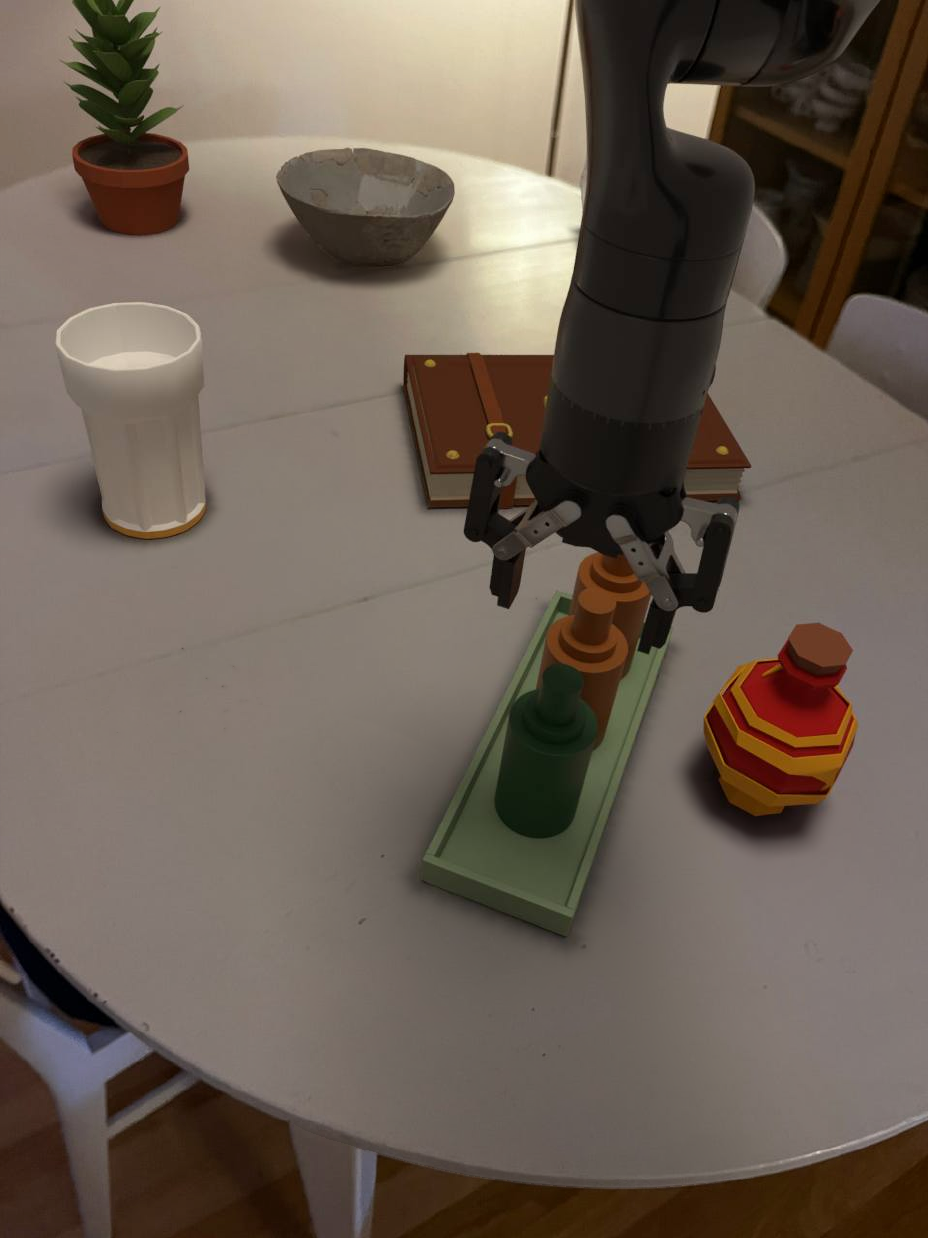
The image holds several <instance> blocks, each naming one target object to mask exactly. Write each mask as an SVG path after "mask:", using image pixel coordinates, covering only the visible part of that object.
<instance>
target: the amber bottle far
mask: <svg viewBox="0 0 928 1238" xmlns="http://www.w3.org/2000/svg"><path fill="white" fill-rule="evenodd" d="M574 582H575V583H574V587H573V592H572V595H573V596H572V601H571V606H570V610H569V615H568V616H570V615H574V614H575V609H576V605H577V600H578V596H579V594H580V593H581V592H582V591H583V590H585V589H588V588H600V589H603V590H606V591H608V592H609V593H611V594H612V595H613V596H614V598H615V600H616V608H615V612H614V616H613V620H612V624H613V625H614V626H616V627H617V628H618V629H619V630H620V631H621V632H622V633H623V635H624V636H625V638H626V640H627V644H628V654H627V658H626V661H625V665H624V668H623V672H622V676H621V679H622V678H624V677H625V676H626V675H627V674H628V672H629V670H630V668H631V664H632V661H633V657H634V654H635V650H636V647H637V643H638V640H639V636H640V633H641V629H642V626H643V622H644V619H645V618H646V616H647V613H648V609H649V606H650V602H651V601H650V600H651V597H652V595H651V593H650V591H649V589H648V588H647V586H646V584H645V582H644V581H639V580H638V579H637V577H636V575H635V573H634V571H633V570H632V568H631V566H630V564H629V562H628V560H627V559H626V557H625V555H618V557H617V559H616V558H612V557H609V556H606V555H603V554H601V553H599V552H597V551H596V552H593V553H592V554H589V555H588V556H585V558H583V559H582V561H581V562H580V563H579V566H578V569H577V573H576V578H575V581H574ZM621 679H620V680H621Z"/></svg>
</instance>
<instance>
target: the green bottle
mask: <svg viewBox="0 0 928 1238" xmlns="http://www.w3.org/2000/svg"><path fill="white" fill-rule="evenodd" d="M583 684H584V679H583V676H582V674H581V673H580V672H579V671H578V670H577V669H576V668H574V667H573V666H570V665H567V664H553V665H550V666H549V667H547V668H546V669H545V670H544V672H543V674H542V679H541V684H540V689H536V690H532V691H529V692H527V693H525V694H523V695H522V696H520V697H519V698H518V699H517V700H516V701H515V702H514V703H513V705H512V707H511V709H510V713H509V718H508V724H507V730H506V735H505V741H504V747H503V752H502V758H501V764H500V769H499V775H498V781H497V786H496V792H495V798H494V803H495V808H496V811H497V814H498V816H499V817H500V819H501V820H502V821H503V823H504V824H505V825H506V826H507V827H509V828H510V829H511V830H513V831H514V832H516V833H518V834H521V835H523V836H526V837H531V838H549V837H552V836H555V835H558V834H560V833H562V832H563V831H564V830H566V829H567V828H568V827H569V826H570V825H571V823H572V822H573V820H574V817H575V814H576V810H577V806H578V803H579V799H580V795H581V792H582V788H583V784H584V780H585V777H586V773H587V769H588V766H589V762H590V758H591V755H592V751H593V747H594V744H595V740H596V736H597V732H598V722H597V718H596V716H595V714H594V712H593V710H592V709H591V708H590V706H589V705H588V704H587V703H586V702H585V701H583V700H582V699H581V698H580V696H581V692H582V688H583Z"/></svg>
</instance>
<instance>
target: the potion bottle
mask: <svg viewBox="0 0 928 1238" xmlns="http://www.w3.org/2000/svg"><path fill="white" fill-rule="evenodd" d="M853 652H854V649H853V648H852V646H851V645H850V643H849V642H848V640H847V639H846V637H845V635H844V634H843V633H842V632H841V631H838V630H836V629H834V628H831V627H829V626H827V625H824V624H823V623H821V622H808V623H799V624H798V623H797V624H795V626H794V628H793V629H792V631H791V632H790V634H789V635H788V637H787V640H786V641H785V643H784V644H783V646H782V648H781V650H780V651H779V652H778V654H777V657H773V658H763V659H757V660H756V659H755V660H753V661H749V662H747V663H744V664H741V665H738V666H737V667H736V668H735V669H734V671H733V673H732V674H731V676H730V677H729V678H728V680H727V681H726V683H725V684H724V685H723V686H722V688H721V689H720V691H718V693H717V695H716V696H715V697H714V699H713V700H712V703H711V705H710V706H709V708H708V709H707V711H706V712H705V714H704V715H703V725H702V727H703V728H702V729H703V730H702V732H703V736H704V739H705V742H706V746H707V749H708V751H709V753H710V755H711V757H712V760H713V762H714V764H715V766H716V768H717V770H718V772H719V775H720V777H719V778H718V782H719V784H720V786H721V788H722V790H723V792H724V794H725V797H726V798H727V801H728V803H730V804H731V805H733V806H736V807H738V808H739V809H741V810H743V811H745V812H747V813H749V814H750V815H752V816H754V817H760V816H767V815H775V814H781V813H782V812H783V810H784V809H785V807H786V806H800V805H801V806H802V805H815V804H816V805H817V804H819V803H821V802H823V800H825V799H827V798H828V797H829V795H830V793H831V792H832V789H833V787H834V785H835V784H836V781H837V779H838V777H839V776H840V774H841V771H842V770H843V768H844V765H845V764H846V761H847V760H848V758H849V756H850V754H851V752H852V749H853V747H854V744H855V739H856V735H857V731H858V729H859V723H858V720H857V718H856V716H855V714H854V712H853V704H852V702H851V701H850V700H849V698H847V697H846V696H845V695H844V693H843V692H842V691H841V689H840V687H839V686H838V685H840V682H841V681H842V680H843V677H844V675H845V673H846V671H847V669H848V666H847V663H848V661H849V659H850V658H851V656H852V654H853Z"/></svg>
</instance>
